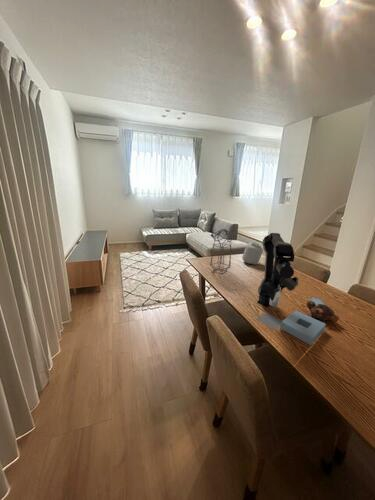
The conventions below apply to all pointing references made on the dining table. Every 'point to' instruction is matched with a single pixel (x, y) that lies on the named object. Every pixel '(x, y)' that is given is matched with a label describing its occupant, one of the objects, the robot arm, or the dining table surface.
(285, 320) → the blue peg hole block
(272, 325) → the rubber mat
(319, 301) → the smartphone
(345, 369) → the dining table surface
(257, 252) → the jar
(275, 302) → the steel pin
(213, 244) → the geometric lantern
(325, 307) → the decorative turtle
